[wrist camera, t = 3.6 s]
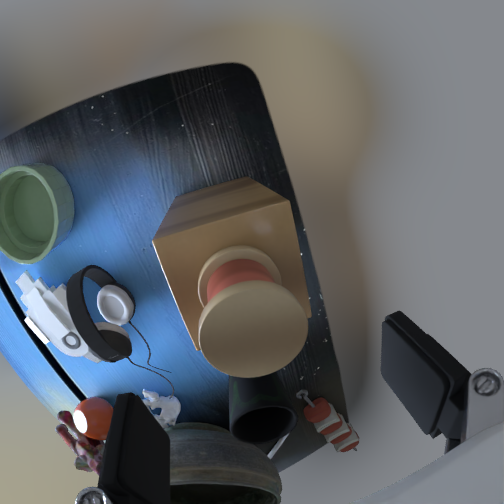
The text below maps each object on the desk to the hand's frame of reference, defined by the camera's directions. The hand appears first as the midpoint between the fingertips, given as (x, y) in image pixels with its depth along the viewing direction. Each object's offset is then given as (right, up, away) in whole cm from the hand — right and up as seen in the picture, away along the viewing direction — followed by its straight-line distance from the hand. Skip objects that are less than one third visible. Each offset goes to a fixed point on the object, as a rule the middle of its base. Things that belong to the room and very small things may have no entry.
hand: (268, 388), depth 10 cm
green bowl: (-26, +10, +18) cm, 33 cm away
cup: (-1, -10, +30) cm, 32 cm away
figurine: (-32, -25, +27) cm, 49 cm away
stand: (-4, +8, +23) cm, 24 cm away
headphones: (-15, -4, +25) cm, 29 cm away
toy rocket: (-26, -4, +23) cm, 35 cm away
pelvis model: (-18, -17, +28) cm, 37 cm away
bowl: (-11, -30, +35) cm, 47 cm away
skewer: (+7, -16, +31) cm, 36 cm away
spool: (-1, +3, +8) cm, 8 cm away
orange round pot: (-26, -20, +22) cm, 39 cm away
